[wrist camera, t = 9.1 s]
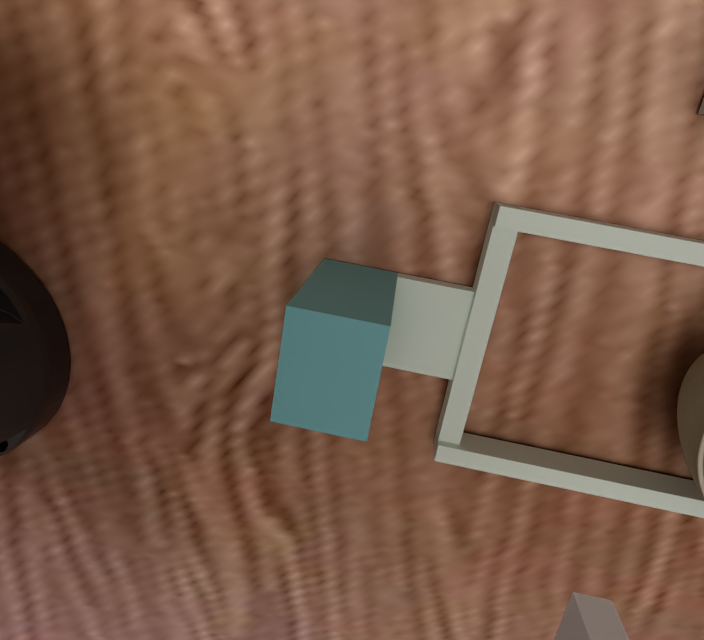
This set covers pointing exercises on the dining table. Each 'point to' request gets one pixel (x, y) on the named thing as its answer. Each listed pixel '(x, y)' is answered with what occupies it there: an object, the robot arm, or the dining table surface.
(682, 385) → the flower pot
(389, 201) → the dining table surface
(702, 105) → the open frame with post
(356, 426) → the frame
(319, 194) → the dining table surface
